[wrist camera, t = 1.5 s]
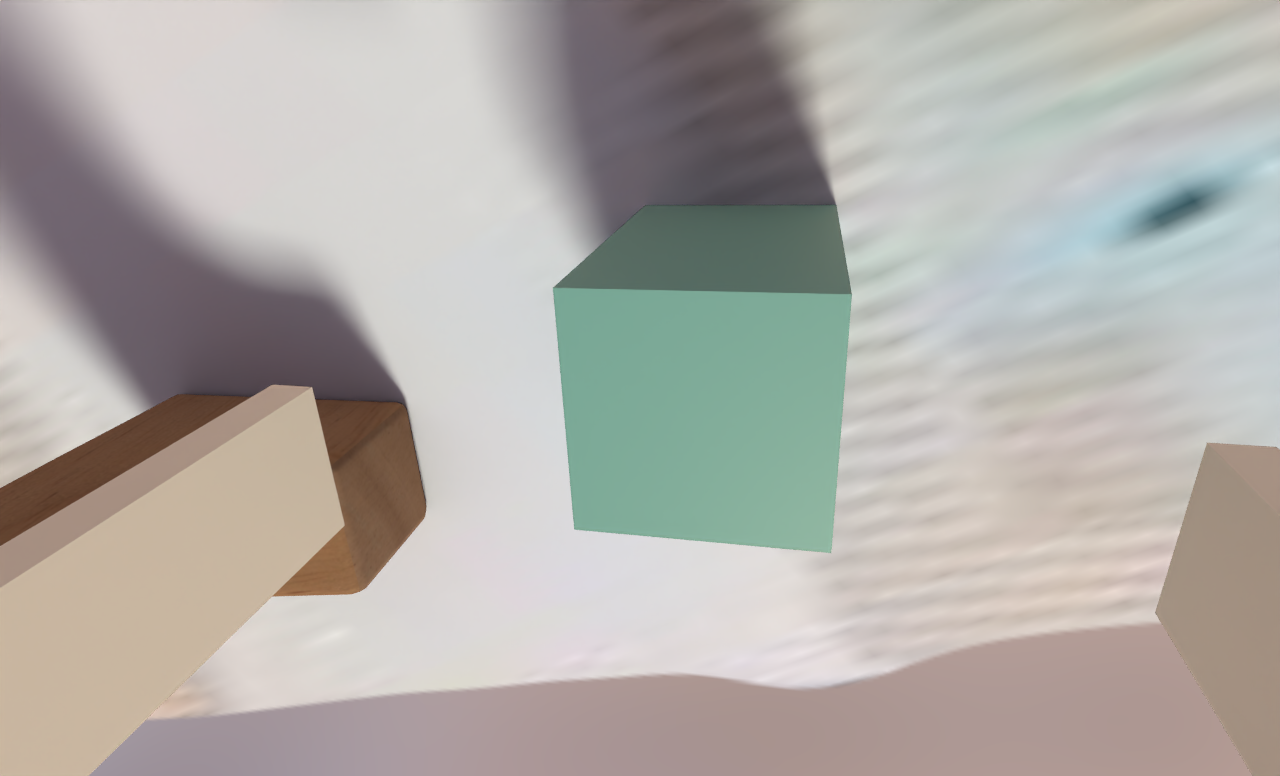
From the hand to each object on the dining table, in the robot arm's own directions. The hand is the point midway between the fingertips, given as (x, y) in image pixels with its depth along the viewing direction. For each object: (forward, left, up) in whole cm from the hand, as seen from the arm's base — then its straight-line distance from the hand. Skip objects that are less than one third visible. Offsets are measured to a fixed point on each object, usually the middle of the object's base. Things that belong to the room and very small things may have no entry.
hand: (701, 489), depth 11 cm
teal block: (0, 0, -10) cm, 10 cm away
